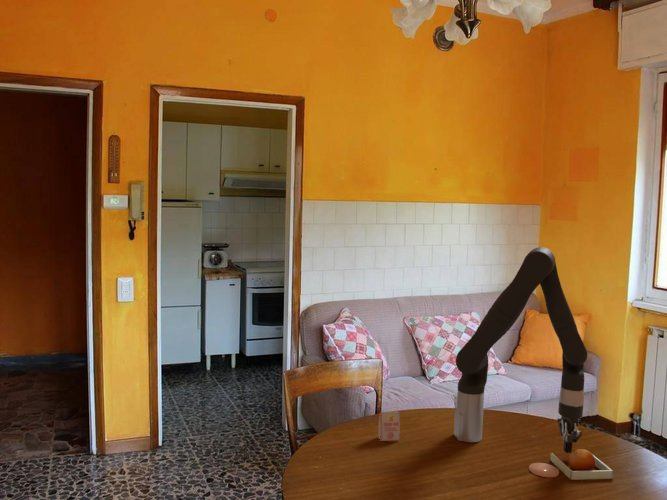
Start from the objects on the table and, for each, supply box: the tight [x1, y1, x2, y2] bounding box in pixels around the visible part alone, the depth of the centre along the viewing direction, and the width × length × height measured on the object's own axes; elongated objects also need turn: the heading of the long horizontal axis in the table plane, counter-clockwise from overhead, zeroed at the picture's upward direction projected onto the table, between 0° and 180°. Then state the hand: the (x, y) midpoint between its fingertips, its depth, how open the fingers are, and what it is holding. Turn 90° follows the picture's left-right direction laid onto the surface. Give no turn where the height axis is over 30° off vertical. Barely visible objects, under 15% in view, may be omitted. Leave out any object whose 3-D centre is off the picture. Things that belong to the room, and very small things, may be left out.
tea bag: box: [377, 411, 401, 442], centre depth 216 cm, size 4×7×10 cm, turn 98°
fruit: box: [567, 448, 596, 471], centre depth 195 cm, size 8×8×8 cm
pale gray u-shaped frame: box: [550, 452, 614, 481], centre depth 197 cm, size 14×14×2 cm
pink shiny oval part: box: [528, 462, 560, 478], centre depth 195 cm, size 9×9×1 cm
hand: (567, 451), depth 204 cm, fingers closed
